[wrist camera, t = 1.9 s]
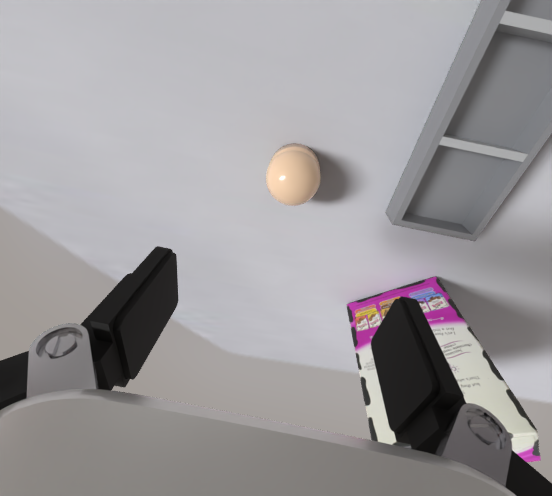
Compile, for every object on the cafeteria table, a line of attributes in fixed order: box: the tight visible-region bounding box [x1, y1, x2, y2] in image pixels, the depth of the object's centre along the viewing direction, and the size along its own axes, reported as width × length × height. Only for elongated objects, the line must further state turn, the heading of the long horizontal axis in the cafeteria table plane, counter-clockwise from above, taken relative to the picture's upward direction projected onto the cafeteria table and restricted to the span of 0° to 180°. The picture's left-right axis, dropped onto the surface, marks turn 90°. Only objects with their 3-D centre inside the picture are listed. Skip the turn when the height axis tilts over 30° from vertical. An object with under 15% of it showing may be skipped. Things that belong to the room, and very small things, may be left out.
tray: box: [386, 0, 552, 241], centre depth 20 cm, size 23×8×3 cm, turn 170°
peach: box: [266, 143, 321, 206], centre depth 24 cm, size 5×5×5 cm
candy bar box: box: [347, 277, 541, 462], centre depth 27 cm, size 11×5×16 cm, turn 119°
